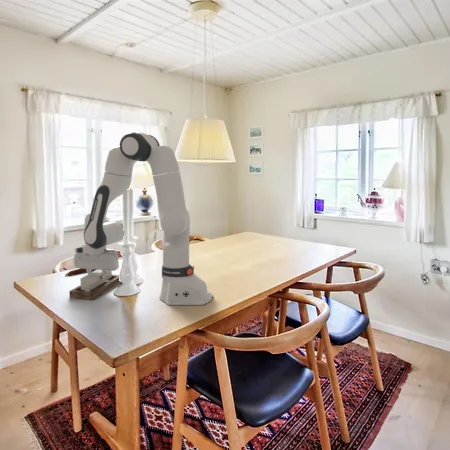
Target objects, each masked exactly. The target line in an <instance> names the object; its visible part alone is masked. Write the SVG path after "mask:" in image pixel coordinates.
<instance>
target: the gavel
mask: <svg viewBox="0 0 450 450" xmlns="http://www.w3.org/2000/svg"><path fill="white" fill-rule="evenodd" d="M92 270H94V269H92ZM92 270H91V271H92ZM83 273H87V271H86V269H83V268H76V269H74V270H73V269H72V270H70V271H69V272H67V273H65V274H64V276H66V277H67V276H68V277H69V276H77V275H79V274H83Z"/></svg>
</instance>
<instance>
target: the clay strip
mask: <svg viewBox="0 0 450 450" xmlns="http://www.w3.org/2000/svg"><path fill="white" fill-rule="evenodd" d="M91 272H92V273H90V274H88V273H87V274H86V275H84V276H82V277H81V278H80V285H81V290H91V289H93V288H95V287H96V286H98V285H99V284H101V283H103V282H104V281H106V280H107V279H109V278H111V277H112V275H113V271H110V270H107V273H106V274H105V279H100V275H102V274H103V272H102V270H97V269H95V270H94V271H91Z"/></svg>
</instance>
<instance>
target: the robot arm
mask: <svg viewBox="0 0 450 450" xmlns="http://www.w3.org/2000/svg"><path fill="white" fill-rule="evenodd" d="M107 154H108V155H107V158H106V161H105V165H104V173H103V177H102V181H101V183H100V185H99V186H98V188H97V189H96V192H95V194H94V198H93V202H92V204H91V205H92V207H91V209H90V213H88V214H87V215H85V217H84V228H83V229H84V231H83V240H84V244H83V245H80V246H77V247H75V248H74V252H75V254H74V256H73V265H74V267H75V268H76V269H80V268H83V269H86V271H87V272H86V273H87V275H88V274H90V273H92V272H93V271H92V269H93V270H102V272H103V274H102V275H100V279H105V274H106V273H107V270H110V271H112V272H115V271H116V270H118V269H119V267H120V265H119V263H120V262H119V255H118V251H116V250H115V249H108V248H107V246H110V245H112V244H116V243H118V242H120V241H123V239H124V237H123V236H125V230H124V231H123V228H124V225H123V224H122V223H121V222H119V221H116V220H113V219H111V218H109V217H108V216H107V214H108V209H109V206H110V205H111V203H112V202H113V201H114V200H116V199H118V197H120V196H122V195H124V194H126V192H127V191H128V190H129V188H130V186H131V184H132V177H133V171H134V170H133V169H134V165H135V163H137V162H147V164H149V167H150V169H151V170H150V171H151V175H152V179H153V184H154V189H155V194H156V201H157V209H158V216H159V222H160V227H161V229H162V231H163V240H162V265H161V279H162V283H161V290H160V295H159V299H160V300H161V301H163V302H165V304H166V305H169V306H171V305H172V306H174V305H175V306H184V305H185V306H204V304H205V305H207V304H209V303H210V302H211V301H212V299H213V293H212V292H211V291H208V287H207V283H206V282H205V281H204V280H203V279H202V278H201V277H199V276H198V275H197V274H195V272H194V271H195V265H193V266H192V265H191V264H190V233H191V232H190V231H191V230H190V229H191V228H190V227H191V226H190V225H191V216H190V212H189V211H188V209H187V208H186V199H185V194H184V186H183V182H182V177H181V171H180V168H179V164H178V161H177V157H176V154H175V152H174V150H173V149H172V148H171V147H170V146H167V145H160V142H159V140H158V139H157V138H156V136H153V135H151V134H148V133H144V132H128V133H126V134H125V135H123V136H122V137H121V139H120V140H119V145H118V146H117V145H116V146H113V147H111V148H110V149H109V151H108V153H107ZM127 189H128V190H127ZM126 190H127V191H126ZM125 191H126V192H125ZM210 300H211V301H210ZM209 301H210V302H209ZM208 302H209V303H208ZM206 303H207V304H206Z"/></svg>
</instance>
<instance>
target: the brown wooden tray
mask: <svg viewBox="0 0 450 450" xmlns="http://www.w3.org/2000/svg"><path fill="white" fill-rule="evenodd" d="M119 275H120V274H112V277H111V278H109V279H107V280H106V281H104V282H103V283H101V284H99V285H98V286H96V287H95V288H93V289H91V290H81V284H80V285H78V286H76V287H75V288H72V289H71V290H69V292H68V293H69V299H78V300H89V301H94V300H96V299H98V298H99V297H101V296H102V295H104V294H105V293H107V292H108V291H110V290H111V289H113V288H115V287H116V286H117V285H119V284H120V283H119V282H120V281H119Z"/></svg>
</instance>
